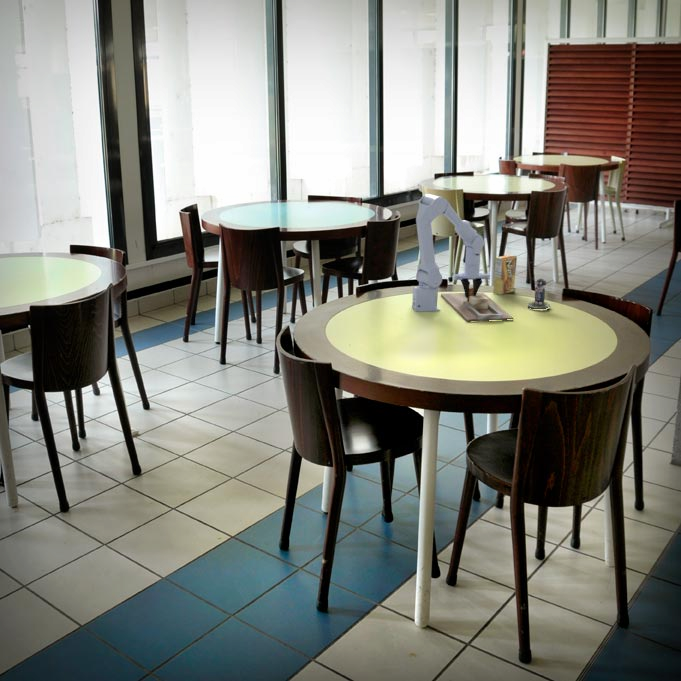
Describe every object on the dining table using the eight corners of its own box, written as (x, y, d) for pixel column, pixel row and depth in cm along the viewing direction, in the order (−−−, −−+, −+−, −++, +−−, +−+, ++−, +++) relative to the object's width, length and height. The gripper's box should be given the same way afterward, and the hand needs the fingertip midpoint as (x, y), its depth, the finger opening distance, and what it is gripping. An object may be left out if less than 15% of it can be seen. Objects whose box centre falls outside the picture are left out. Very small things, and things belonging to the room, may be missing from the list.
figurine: (526, 304, 337) (529, 275, 333) (548, 305, 336) (551, 276, 332) (528, 310, 329) (531, 280, 325) (551, 311, 328) (553, 281, 324)
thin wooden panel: (467, 322, 313) (467, 315, 312) (440, 296, 347) (441, 290, 346) (513, 320, 316) (513, 314, 315) (482, 294, 349) (483, 289, 349)
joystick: (472, 309, 325) (473, 297, 323) (462, 299, 338) (462, 287, 336) (487, 309, 326) (488, 296, 324) (476, 299, 339) (477, 287, 337)
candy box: (506, 289, 358) (509, 254, 353) (514, 291, 355) (517, 256, 350) (492, 292, 353) (495, 257, 348) (500, 295, 350) (503, 258, 345)
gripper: (486, 261, 338) (484, 293, 342) (451, 261, 335) (450, 294, 340) (492, 265, 331) (490, 298, 335) (456, 266, 329) (454, 299, 333)
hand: (470, 297), depth 337 cm, fingers closed on joystick, 2 cm apart
